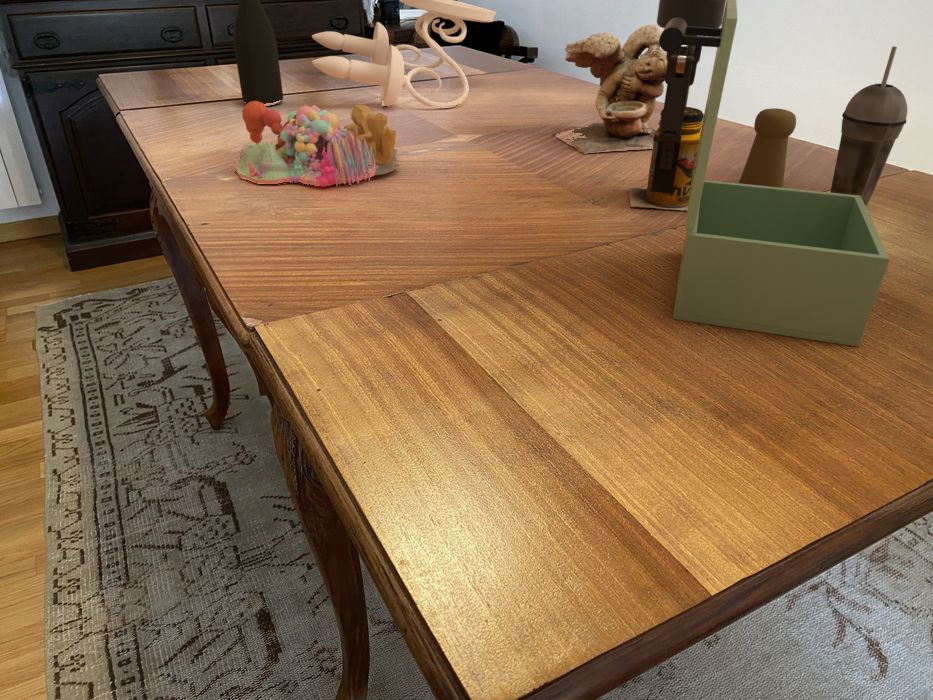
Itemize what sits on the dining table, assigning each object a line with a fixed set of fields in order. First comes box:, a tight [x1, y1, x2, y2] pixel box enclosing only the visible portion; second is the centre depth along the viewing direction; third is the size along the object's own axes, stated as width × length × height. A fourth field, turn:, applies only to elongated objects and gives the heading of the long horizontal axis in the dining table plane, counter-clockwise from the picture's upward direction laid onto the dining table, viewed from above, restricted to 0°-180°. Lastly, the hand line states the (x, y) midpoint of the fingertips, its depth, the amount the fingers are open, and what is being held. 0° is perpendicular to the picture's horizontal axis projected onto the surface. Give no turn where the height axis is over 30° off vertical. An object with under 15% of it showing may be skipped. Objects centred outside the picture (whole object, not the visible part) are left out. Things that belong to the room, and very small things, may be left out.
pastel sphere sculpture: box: [233, 101, 400, 188], centre depth 106 cm, size 25×24×9 cm
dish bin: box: [672, 179, 890, 348], centre depth 70 cm, size 16×16×9 cm
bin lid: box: [659, 0, 738, 230], centre depth 66 cm, size 17×16×6 cm
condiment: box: [628, 106, 704, 211], centre depth 93 cm, size 7×8×12 cm
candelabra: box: [311, 0, 497, 107], centre depth 150 cm, size 20×45×37 cm
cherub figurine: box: [564, 24, 668, 154], centre depth 117 cm, size 18×18×18 cm
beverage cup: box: [829, 45, 908, 207], centre depth 89 cm, size 7×7×20 cm
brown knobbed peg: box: [738, 107, 797, 188], centre depth 97 cm, size 6×6×11 cm
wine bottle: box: [233, 0, 284, 104], centre depth 134 cm, size 8×8×30 cm
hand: (663, 183), depth 94 cm, fingers closed on condiment, 6 cm apart
